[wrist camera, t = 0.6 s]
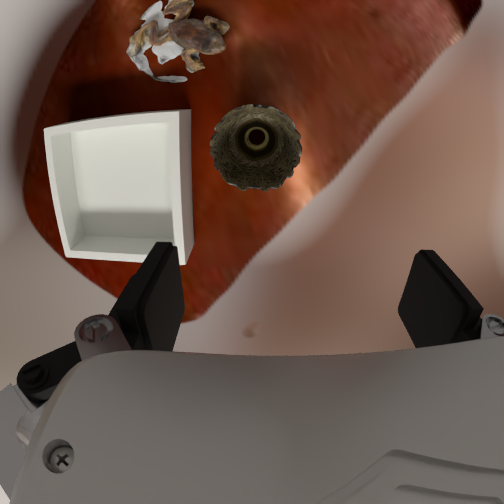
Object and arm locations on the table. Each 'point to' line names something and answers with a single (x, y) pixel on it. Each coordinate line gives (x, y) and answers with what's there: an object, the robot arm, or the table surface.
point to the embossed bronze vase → (256, 147)
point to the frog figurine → (176, 38)
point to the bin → (122, 184)
